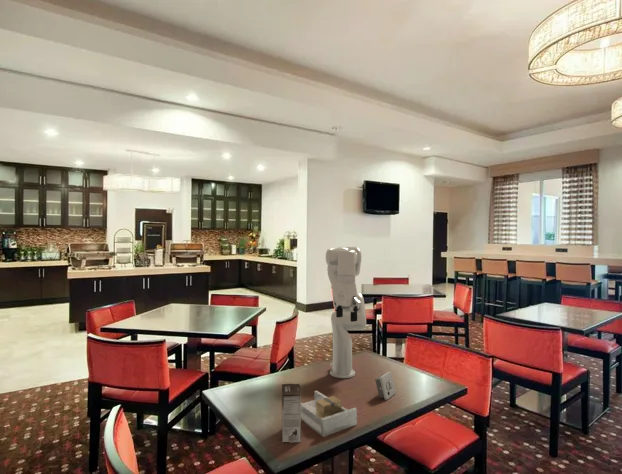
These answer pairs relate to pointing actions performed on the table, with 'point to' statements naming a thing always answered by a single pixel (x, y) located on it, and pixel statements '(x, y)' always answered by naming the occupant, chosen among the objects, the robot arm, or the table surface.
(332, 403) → the tan cardboard box
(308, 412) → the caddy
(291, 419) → the coffee box
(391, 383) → the electrical switch
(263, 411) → the table surface
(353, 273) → the robot arm
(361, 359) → the table surface
